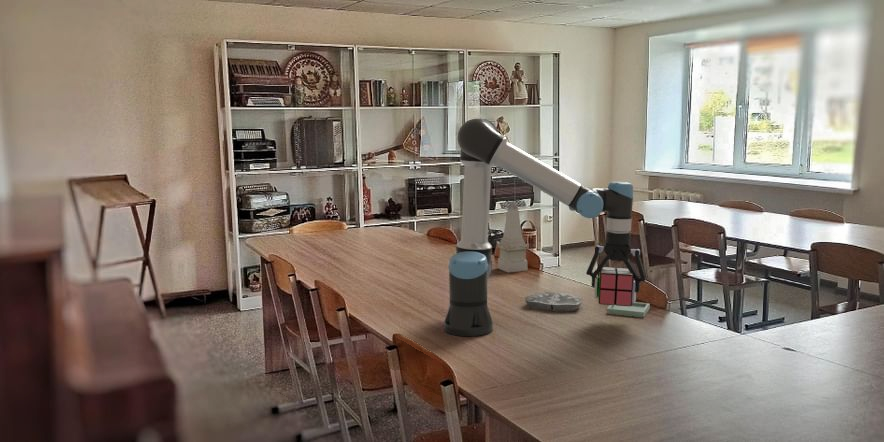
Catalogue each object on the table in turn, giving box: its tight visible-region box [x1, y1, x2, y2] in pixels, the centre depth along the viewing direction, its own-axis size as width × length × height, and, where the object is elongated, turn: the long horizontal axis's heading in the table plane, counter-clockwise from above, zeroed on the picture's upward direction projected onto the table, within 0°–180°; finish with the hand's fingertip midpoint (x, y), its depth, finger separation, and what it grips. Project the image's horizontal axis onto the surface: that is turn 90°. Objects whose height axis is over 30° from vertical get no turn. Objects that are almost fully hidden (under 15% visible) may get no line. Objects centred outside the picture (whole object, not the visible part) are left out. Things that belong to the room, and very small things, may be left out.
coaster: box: [606, 301, 651, 319], centre depth 234 cm, size 12×12×2 cm
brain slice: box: [524, 291, 583, 313], centre depth 242 cm, size 20×17×3 cm
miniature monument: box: [496, 201, 530, 273], centre depth 301 cm, size 10×10×30 cm
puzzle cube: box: [597, 266, 634, 306], centre depth 220 cm, size 10×10×10 cm
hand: (614, 299), depth 220 cm, fingers closed on puzzle cube, 11 cm apart
